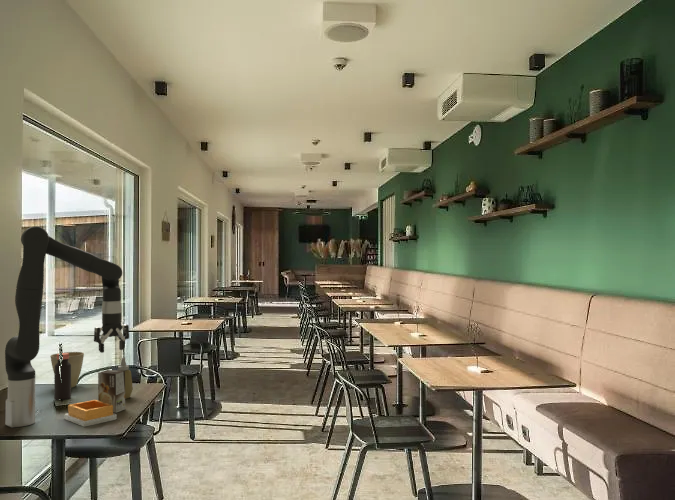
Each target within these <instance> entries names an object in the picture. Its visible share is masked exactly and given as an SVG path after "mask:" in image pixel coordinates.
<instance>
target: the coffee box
mask: <svg viewBox="0 0 675 500" xmlns="http://www.w3.org/2000/svg"><path fill="white" fill-rule="evenodd" d="M97 384H98V385H97V390H98V391H97V394H98V396H97V400H98V401H101V402H104V403H107V404H110V405H113V413H115V414H118V413H119V412H123V411H124V410H126V399H125V371H118V369H117V370H116V369H115V370H114V369H113V370H112V369H106V370H102V371H99V372H97Z"/></svg>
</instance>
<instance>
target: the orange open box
mask: <svg viewBox="0 0 675 500" xmlns="http://www.w3.org/2000/svg"><path fill="white" fill-rule="evenodd" d="M67 411H68V412H67V413H64V418H63V419H64V420H66V421H69V422H70V423H73V424H76V425H79V426H81V427H83V428H85V427H89V426H93V425H98V424H102V423H106V422H111V421H115V420H118V419H117V418H118V416H117V414H118V413H113V405H110V404H107V403H104V402H101V401H98V399H92V400H87V401H82V402H77V403H76V402H75V403H72V404H71V403H70V404H68V406H67Z"/></svg>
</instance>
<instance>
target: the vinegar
mask: <svg viewBox="0 0 675 500" xmlns="http://www.w3.org/2000/svg"><path fill="white" fill-rule="evenodd" d="M61 353H62V355H63V361H62V366H61V379H62V383H61V380H60V374H59V366H60V361H59V354H57V353H56V354H57V360H58V362H57V363H56V365H55V366H54V371H53V375H54V377H53V379H54V382H53V383H54V384H53V386H54V387H53V388H54V389H53V390H54V396H53V397H54V400H55V399H56V401H60V400H59V399H63V400H62V401H64V400H69V399H71V398H72V388H71V364H70V363H69V362H68V360H69V353H64V352H61Z"/></svg>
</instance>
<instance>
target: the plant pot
mask: <svg viewBox="0 0 675 500" xmlns="http://www.w3.org/2000/svg"><path fill="white" fill-rule="evenodd" d="M59 353H60V352H57V353H53V354H51V355H50V362H51V363H50V364H51V366H52V371H53V372H54V366H55V365H56V363H57V362H58V360H57V354H59ZM63 353H69V360H68V362H69V363H70V364H71V389H72V388H75V387H76V386H77V385H78V381H79V378H80V375H81V371H82V369H83V368H82V367H83V363H84V357H85V353H84V352H82V351H68V352H67V351H66V352H63Z"/></svg>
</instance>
